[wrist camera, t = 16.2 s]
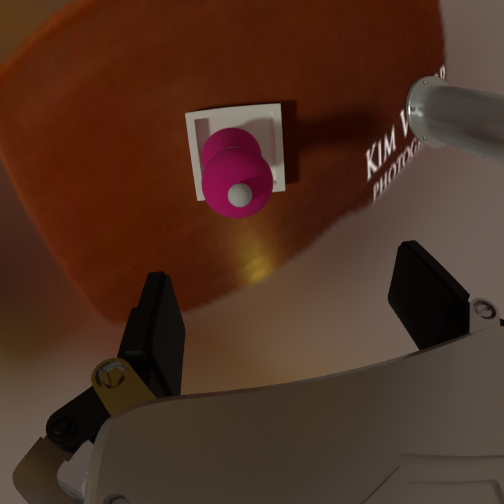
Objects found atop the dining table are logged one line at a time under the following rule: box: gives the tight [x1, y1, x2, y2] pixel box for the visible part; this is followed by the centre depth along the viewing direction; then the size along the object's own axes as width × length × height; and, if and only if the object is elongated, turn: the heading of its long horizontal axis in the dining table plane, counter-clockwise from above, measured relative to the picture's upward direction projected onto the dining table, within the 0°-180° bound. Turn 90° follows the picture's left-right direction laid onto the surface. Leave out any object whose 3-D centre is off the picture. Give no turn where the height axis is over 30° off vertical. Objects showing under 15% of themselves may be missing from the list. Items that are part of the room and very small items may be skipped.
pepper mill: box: [201, 127, 273, 218], centre depth 29 cm, size 7×7×20 cm
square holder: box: [185, 103, 285, 201], centre depth 37 cm, size 12×12×2 cm
